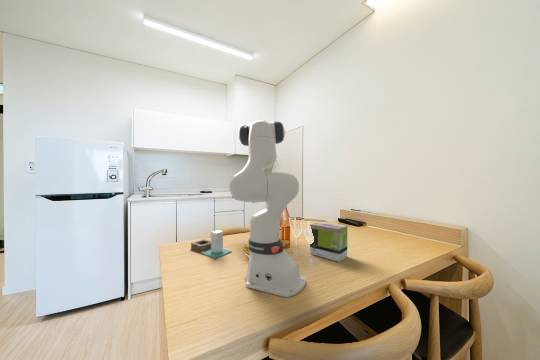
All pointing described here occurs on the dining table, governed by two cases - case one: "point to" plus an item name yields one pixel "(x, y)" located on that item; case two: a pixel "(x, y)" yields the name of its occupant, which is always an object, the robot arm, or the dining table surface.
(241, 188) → the robot arm
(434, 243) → the dining table surface
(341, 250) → the tea box
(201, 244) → the socket block
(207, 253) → the rubber mat
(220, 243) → the steel peg
